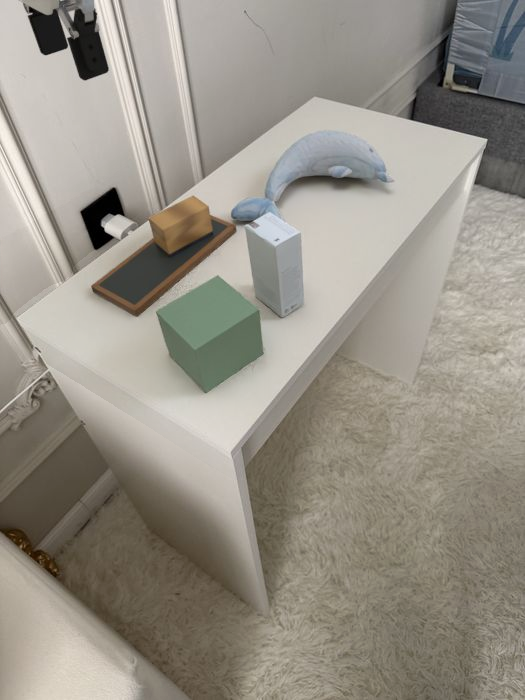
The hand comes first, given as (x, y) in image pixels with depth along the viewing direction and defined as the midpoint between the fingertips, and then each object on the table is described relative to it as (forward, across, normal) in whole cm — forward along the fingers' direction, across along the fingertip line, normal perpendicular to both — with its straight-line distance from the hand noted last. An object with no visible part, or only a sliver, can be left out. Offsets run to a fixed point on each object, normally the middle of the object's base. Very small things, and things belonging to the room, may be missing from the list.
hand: (74, 63), depth 57 cm
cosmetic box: (+28, +21, +10) cm, 37 cm away
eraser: (+27, +2, +8) cm, 28 cm away
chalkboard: (+28, +3, +4) cm, 29 cm away
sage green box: (+28, +23, -2) cm, 36 cm away
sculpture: (+28, +8, +30) cm, 42 cm away
